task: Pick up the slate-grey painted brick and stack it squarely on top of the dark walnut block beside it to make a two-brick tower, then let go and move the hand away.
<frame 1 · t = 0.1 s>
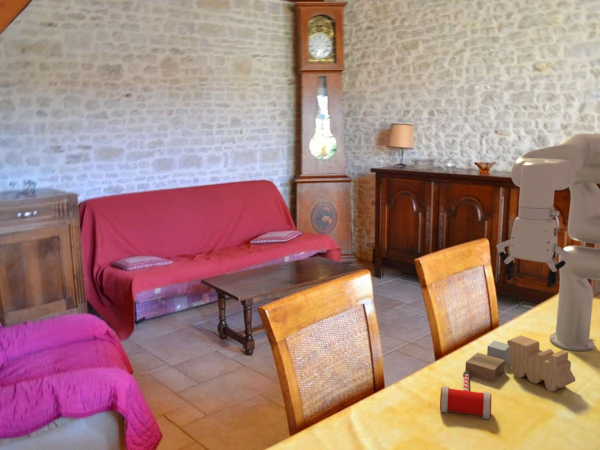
hand: (530, 282, 132), 31 cm above the table, tool pointing down, fingers open, 9 cm apart
toy train: (538, 381, 148), on the table
walnut block: (484, 374, 153), on the table
toy hammer: (464, 402, 138), on the table
slate brick: (498, 361, 160), on the table
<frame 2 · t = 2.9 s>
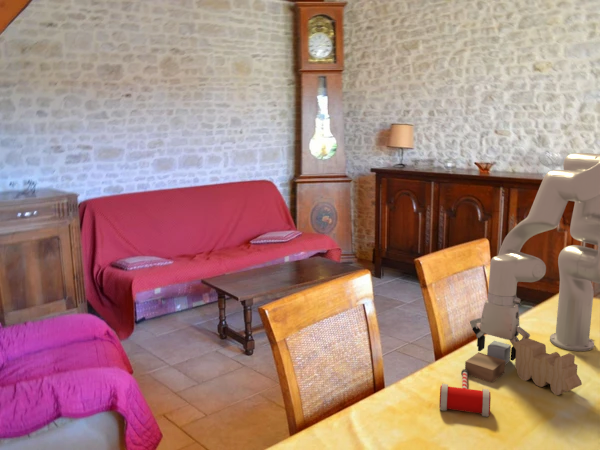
hand: (496, 354, 159), 2 cm above the table, tool pointing down, fingers open, 9 cm apart
toy train: (544, 384, 146), on the table
toy hammer: (462, 400, 139), on the table
everything else where it was.
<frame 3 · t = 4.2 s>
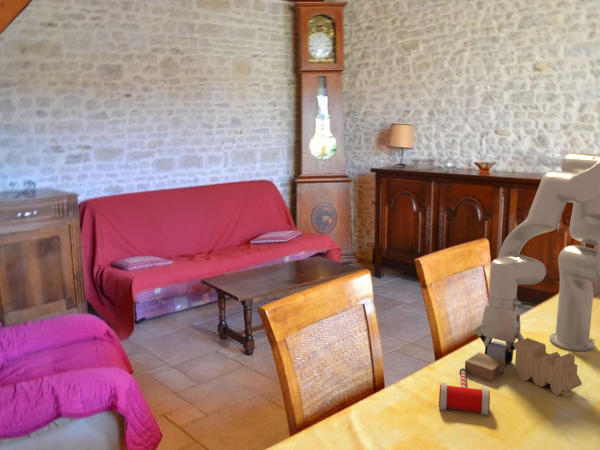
hand: (498, 359, 160), 0 cm above the table, tool pointing down, fingers closed on slate brick, 5 cm apart
slate brick: (498, 361, 160), on the table, touching gripper
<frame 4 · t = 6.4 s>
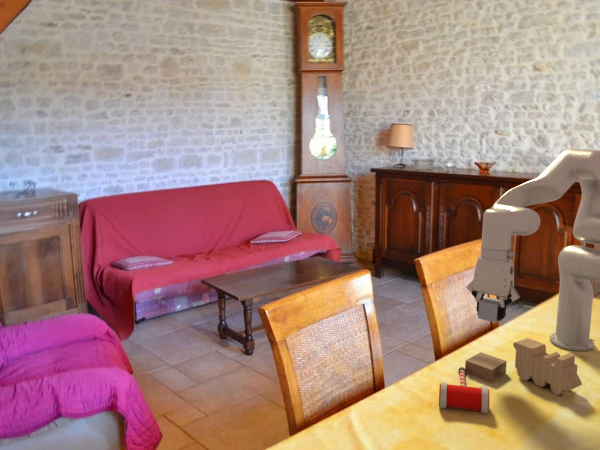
hand: (490, 316, 151), 16 cm above the table, tool pointing down, fingers closed on slate brick, 5 cm apart
slate brick: (490, 318, 151), point 16 cm above the table, touching gripper
when the fingers open (5 cm above the table, at t = 8.9 s): slate brick drops 1 cm, point 4 cm above the table.
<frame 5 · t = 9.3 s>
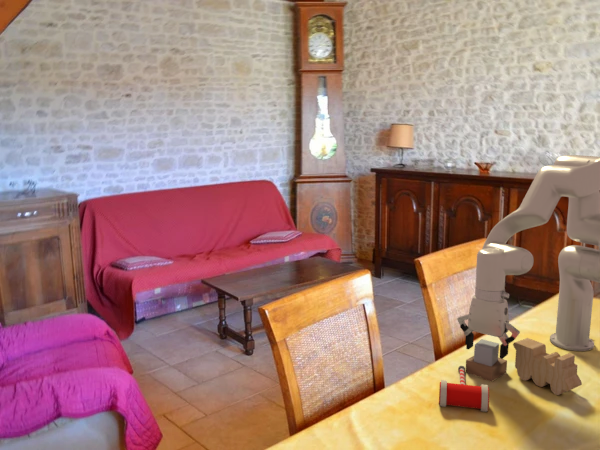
hand: (486, 352, 151), 6 cm above the table, tool pointing down, fingers open, 9 cm apart
slate brick: (485, 360, 152), point 4 cm above the table
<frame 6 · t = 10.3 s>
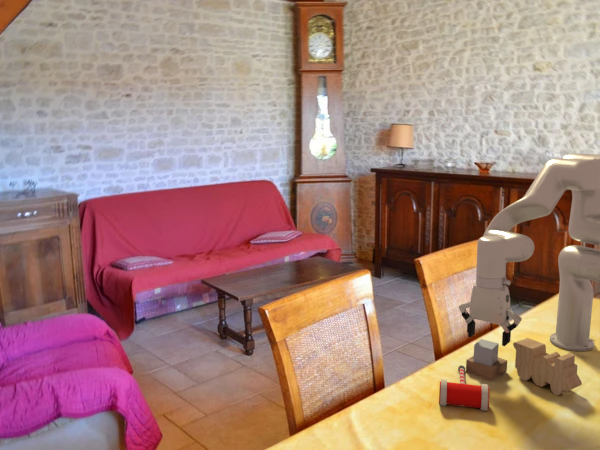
hand: (488, 339, 151), 10 cm above the table, tool pointing down, fingers open, 9 cm apart
walnut block: (486, 373, 153), on the table, touching slate brick
slate brick: (485, 360, 152), point 4 cm above the table, touching walnut block
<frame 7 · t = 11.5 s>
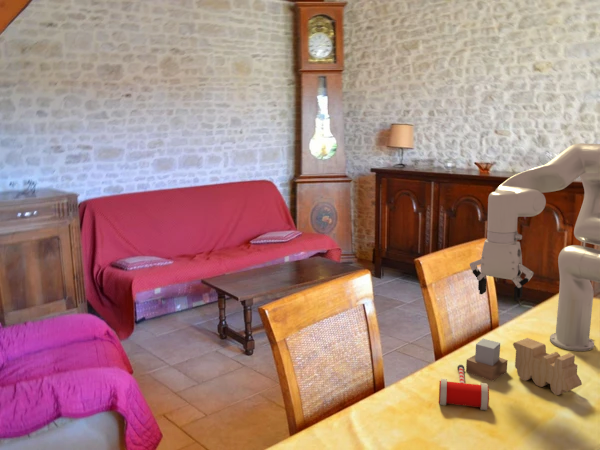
hand: (499, 296, 150), 22 cm above the table, tool pointing down, fingers open, 9 cm apart
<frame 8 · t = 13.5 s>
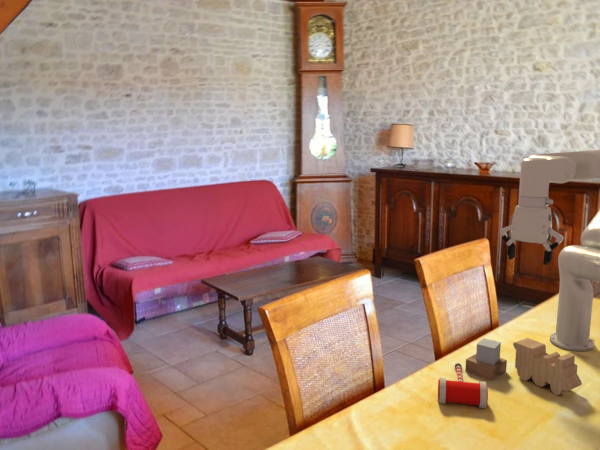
hand: (528, 261, 154), 30 cm above the table, tool pointing down, fingers open, 9 cm apart
at the end: slate brick 0.4 cm off-centre on the walnut block, point 4.0 cm above the walnut block's base; slate brick tilted 0°; the gripper is holding nothing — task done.
